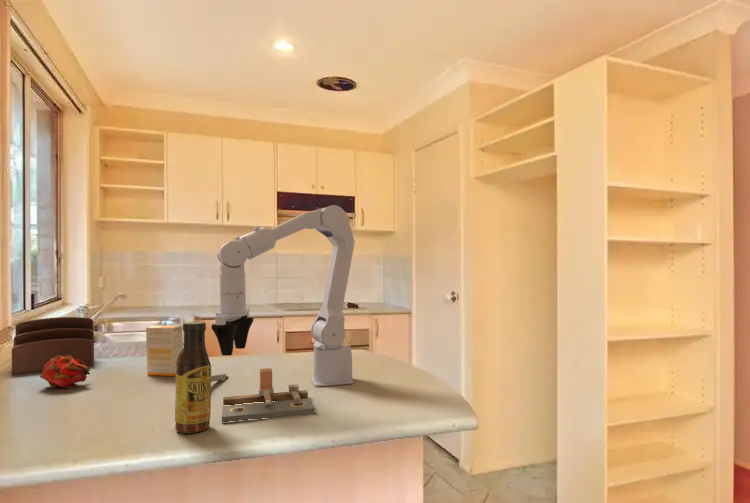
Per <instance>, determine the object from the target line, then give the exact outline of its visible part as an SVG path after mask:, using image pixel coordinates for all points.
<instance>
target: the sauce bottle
mask: <svg viewBox="0 0 750 503" xmlns="http://www.w3.org/2000/svg"><path fill="white" fill-rule="evenodd" d="M206 329H207V322H206V321H186V322H183V323H182V332H183V350H182V351H181V352H180V354H179V356H178V359H177V372H176V375H175V397H174V398H175V399H174V400H175V403H174V406H175V407H174V422H175V425H174V426H175V431H176V432H178V433H181V434H194V433H199V432H203V431H205V430H206V429H207V428H209V427H210V420H211V410H212V408H211V405H212V404H211V400H212V393H211V392H212V382H211V375H212V364H211V361H210V358H209V355H208V353H207V352H208V351H207V349H206V341H205V338H206V337H205V336H206V335H205V334H206Z"/></svg>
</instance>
